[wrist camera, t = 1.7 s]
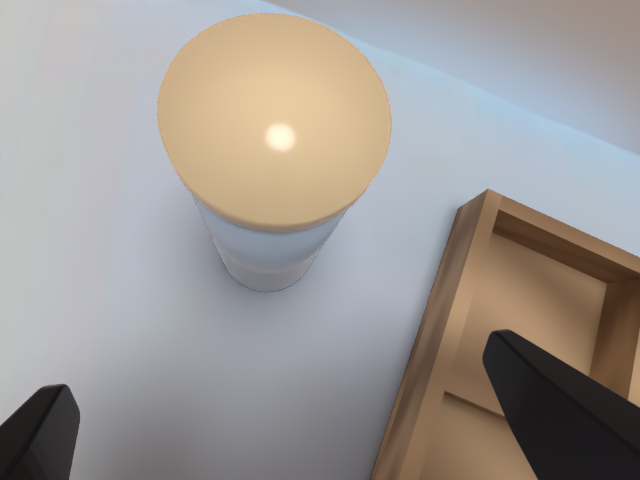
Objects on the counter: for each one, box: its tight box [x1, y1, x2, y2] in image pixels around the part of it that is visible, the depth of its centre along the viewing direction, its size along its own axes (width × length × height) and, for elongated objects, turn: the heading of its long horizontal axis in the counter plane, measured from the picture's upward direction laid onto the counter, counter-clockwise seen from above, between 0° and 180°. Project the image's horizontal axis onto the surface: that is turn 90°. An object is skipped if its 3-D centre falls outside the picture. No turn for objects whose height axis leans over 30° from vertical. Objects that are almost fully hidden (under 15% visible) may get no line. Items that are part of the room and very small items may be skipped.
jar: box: [157, 13, 392, 292], centre depth 15 cm, size 5×5×13 cm
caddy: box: [370, 189, 640, 480], centre depth 19 cm, size 19×10×3 cm, turn 158°
